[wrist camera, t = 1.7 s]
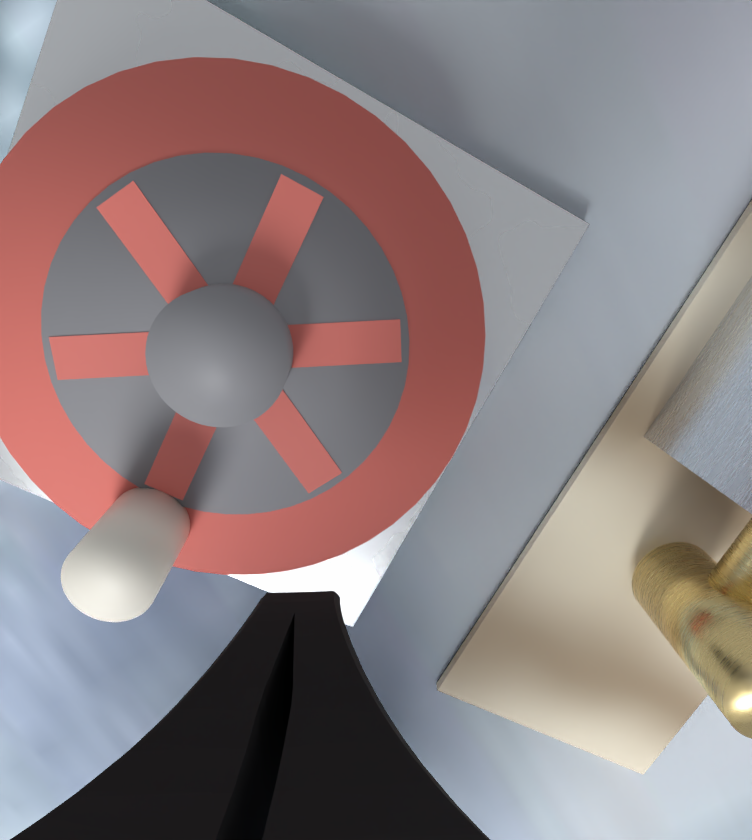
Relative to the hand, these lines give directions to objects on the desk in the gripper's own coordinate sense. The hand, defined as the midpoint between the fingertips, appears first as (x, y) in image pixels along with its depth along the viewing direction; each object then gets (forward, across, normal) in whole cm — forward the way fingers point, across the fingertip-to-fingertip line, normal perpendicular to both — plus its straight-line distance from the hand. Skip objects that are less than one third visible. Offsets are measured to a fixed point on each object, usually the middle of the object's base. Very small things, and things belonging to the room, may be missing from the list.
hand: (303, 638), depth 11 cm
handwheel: (+6, +2, -4) cm, 8 cm away
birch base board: (+6, -11, 0) cm, 13 cm away
